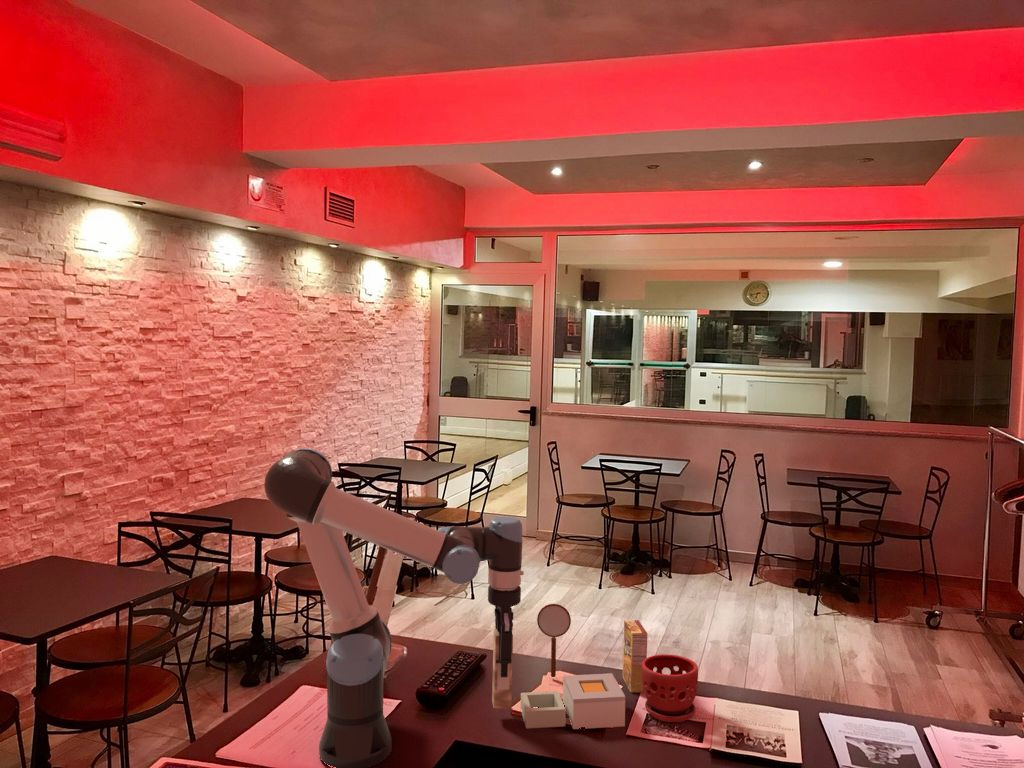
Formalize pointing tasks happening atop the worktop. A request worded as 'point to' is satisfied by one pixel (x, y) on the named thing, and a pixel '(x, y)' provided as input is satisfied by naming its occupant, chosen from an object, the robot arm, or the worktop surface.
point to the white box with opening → (594, 702)
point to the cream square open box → (542, 709)
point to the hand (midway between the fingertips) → (501, 684)
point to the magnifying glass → (553, 627)
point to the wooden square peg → (498, 696)
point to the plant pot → (669, 687)
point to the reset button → (592, 687)
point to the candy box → (634, 654)
